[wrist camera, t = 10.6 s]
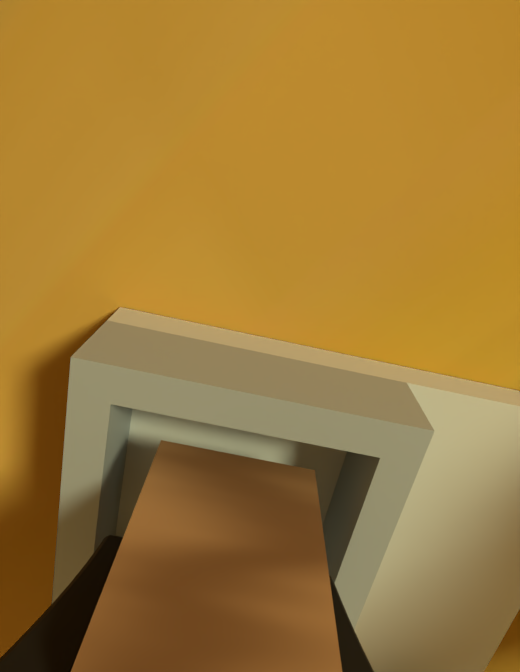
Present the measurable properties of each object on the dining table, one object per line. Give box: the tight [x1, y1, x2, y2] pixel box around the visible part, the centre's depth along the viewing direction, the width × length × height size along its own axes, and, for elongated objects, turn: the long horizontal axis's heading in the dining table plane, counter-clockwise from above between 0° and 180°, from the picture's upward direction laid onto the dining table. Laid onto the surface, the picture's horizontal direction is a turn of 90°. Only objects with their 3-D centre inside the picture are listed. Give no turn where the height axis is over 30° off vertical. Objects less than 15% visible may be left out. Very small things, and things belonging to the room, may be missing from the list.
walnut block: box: [71, 440, 342, 672], centre depth 10 cm, size 4×4×6 cm
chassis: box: [52, 307, 520, 672], centre depth 15 cm, size 15×17×5 cm
